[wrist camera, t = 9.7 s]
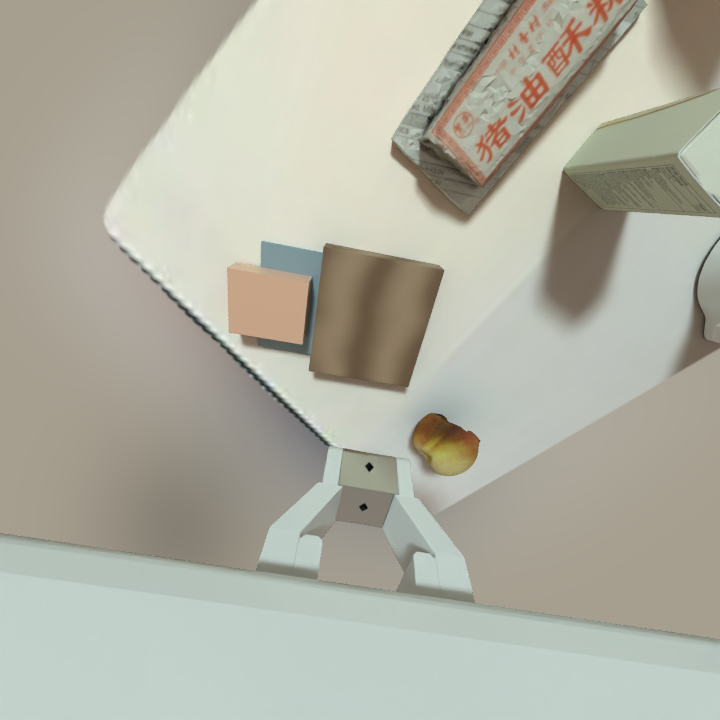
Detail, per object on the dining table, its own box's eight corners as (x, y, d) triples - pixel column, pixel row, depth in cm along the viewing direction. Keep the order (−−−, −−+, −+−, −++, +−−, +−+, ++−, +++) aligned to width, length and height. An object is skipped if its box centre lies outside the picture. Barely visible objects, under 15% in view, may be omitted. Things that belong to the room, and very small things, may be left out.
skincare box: (642, 168, 28) (815, 151, 17) (600, 212, 30) (733, 222, 19) (599, 120, 26) (761, 69, 16) (557, 170, 28) (677, 155, 17)
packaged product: (610, -195, 16) (696, -27, 19) (559, -115, 21) (636, 12, 24) (393, 132, 23) (480, 219, 26) (388, 141, 28) (464, 215, 30)
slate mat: (334, 255, 32) (334, 255, 32) (320, 354, 37) (320, 356, 37) (262, 241, 31) (261, 241, 31) (259, 344, 37) (258, 345, 37)
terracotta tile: (312, 276, 33) (308, 282, 30) (306, 335, 36) (302, 344, 34) (236, 262, 32) (227, 267, 30) (237, 323, 35) (228, 332, 33)
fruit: (413, 397, 40) (424, 440, 33) (474, 402, 41) (498, 445, 34) (404, 440, 44) (412, 486, 37) (460, 444, 44) (479, 491, 37)
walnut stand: (438, 265, 32) (444, 270, 30) (405, 375, 39) (408, 386, 37) (326, 243, 31) (323, 246, 29) (311, 360, 38) (308, 370, 36)
